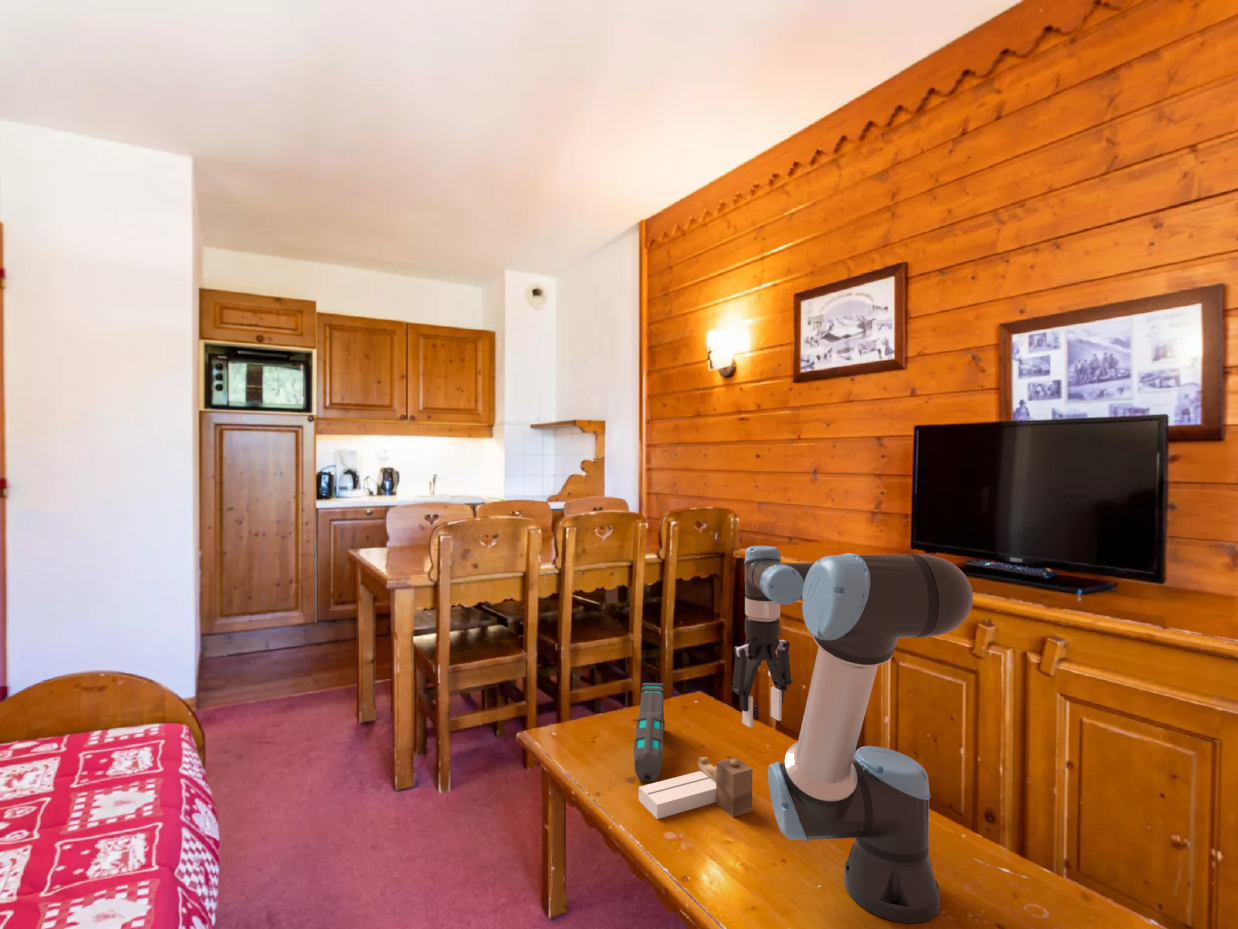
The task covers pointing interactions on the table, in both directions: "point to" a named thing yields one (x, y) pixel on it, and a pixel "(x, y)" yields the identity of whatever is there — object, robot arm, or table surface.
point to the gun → (649, 733)
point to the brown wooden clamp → (730, 784)
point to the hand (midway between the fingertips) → (761, 721)
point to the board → (678, 794)
